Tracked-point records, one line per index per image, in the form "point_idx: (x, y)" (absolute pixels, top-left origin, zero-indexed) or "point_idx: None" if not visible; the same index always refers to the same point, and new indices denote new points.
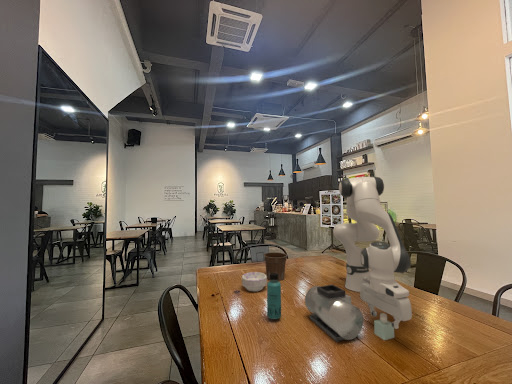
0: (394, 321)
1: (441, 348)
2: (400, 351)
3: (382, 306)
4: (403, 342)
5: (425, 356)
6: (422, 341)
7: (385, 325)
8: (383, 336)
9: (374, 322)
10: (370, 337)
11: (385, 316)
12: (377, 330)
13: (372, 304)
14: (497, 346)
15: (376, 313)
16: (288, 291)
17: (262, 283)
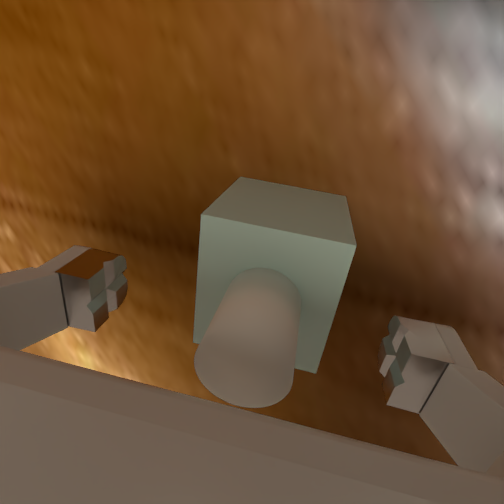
0: (12, 285)
1: (67, 361)
2: (99, 143)
3: (33, 489)
4: (165, 266)
5: (30, 232)
6: (135, 357)
7: (209, 252)
8: (242, 184)
9: (348, 236)
10: (334, 98)
11: (199, 346)
12: (309, 204)
13: (465, 498)
14: None
15: (385, 379)
16: None
17: None
